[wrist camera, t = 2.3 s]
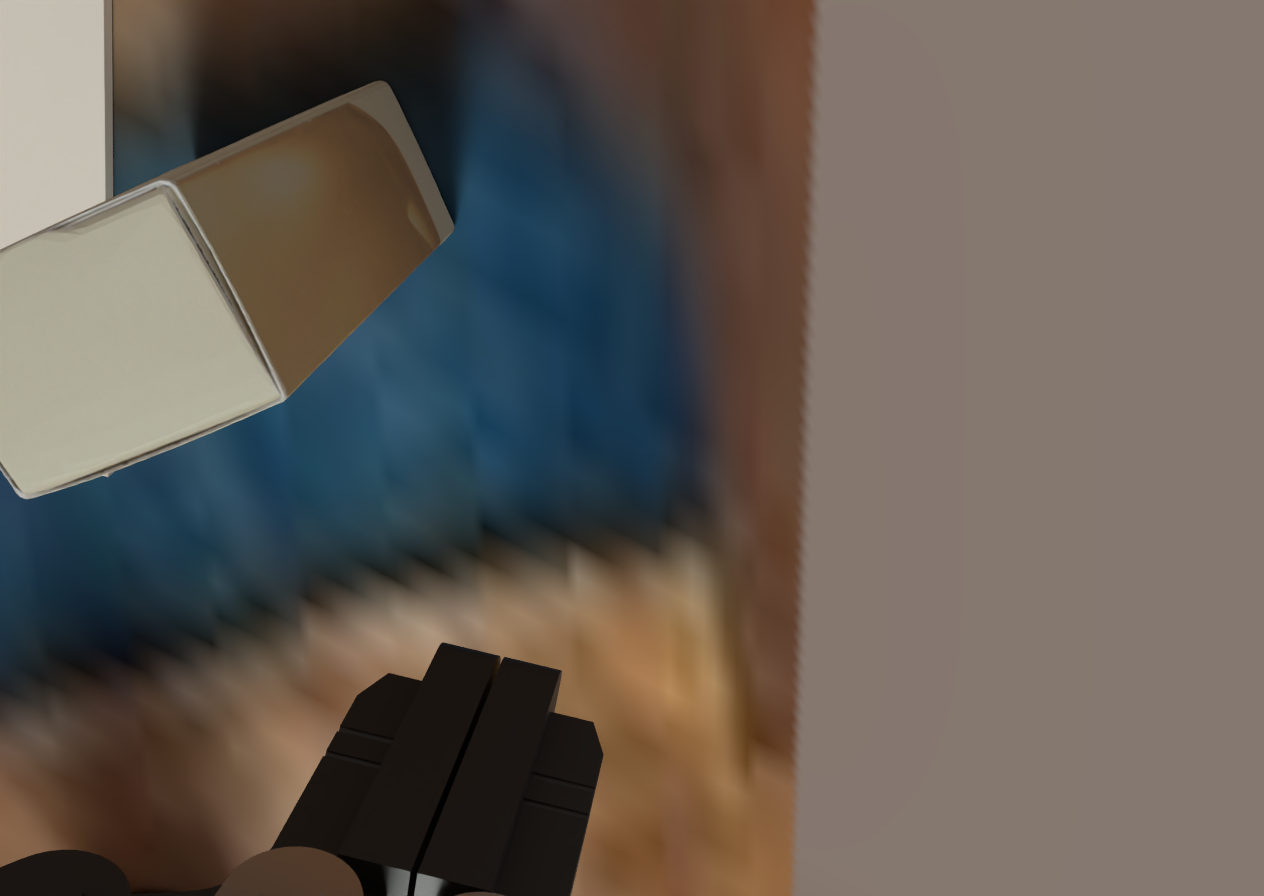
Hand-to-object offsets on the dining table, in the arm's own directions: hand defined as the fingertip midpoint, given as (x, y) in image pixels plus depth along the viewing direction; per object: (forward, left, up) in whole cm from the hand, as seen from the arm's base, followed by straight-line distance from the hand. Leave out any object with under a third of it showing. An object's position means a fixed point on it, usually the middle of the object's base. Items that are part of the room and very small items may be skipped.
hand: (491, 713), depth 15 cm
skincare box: (-9, 0, -19) cm, 21 cm away
